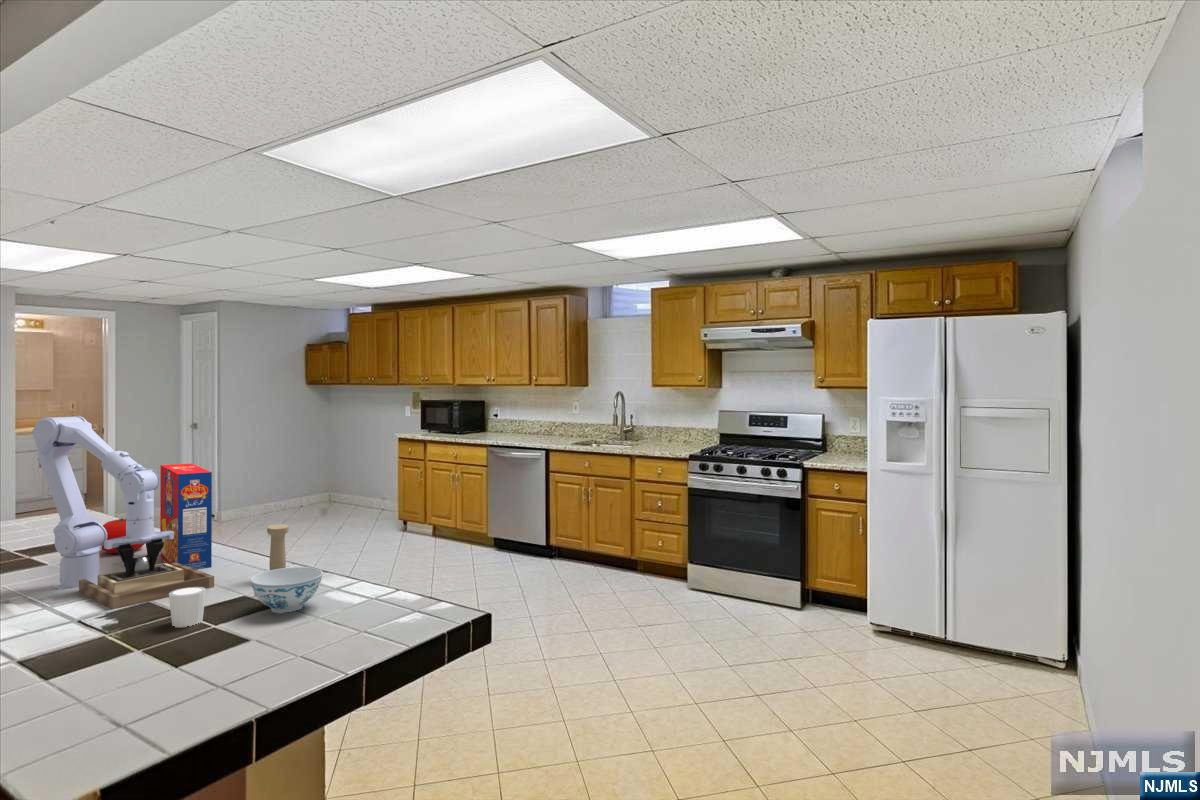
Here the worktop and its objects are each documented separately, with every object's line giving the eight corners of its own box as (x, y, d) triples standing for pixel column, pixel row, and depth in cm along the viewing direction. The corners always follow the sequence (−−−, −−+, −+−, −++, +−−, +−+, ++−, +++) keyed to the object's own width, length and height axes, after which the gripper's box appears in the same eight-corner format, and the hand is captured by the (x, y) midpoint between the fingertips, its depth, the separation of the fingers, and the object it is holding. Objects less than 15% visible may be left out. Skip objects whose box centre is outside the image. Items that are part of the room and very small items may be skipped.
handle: (269, 588, 169) (269, 529, 168) (265, 582, 174) (265, 525, 174) (289, 585, 171) (290, 527, 171) (285, 579, 177) (285, 523, 176)
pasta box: (160, 557, 199) (160, 465, 198) (191, 553, 204) (191, 463, 204) (177, 577, 178) (178, 474, 178) (211, 572, 183) (211, 472, 183)
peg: (127, 581, 165) (127, 557, 165) (145, 577, 168) (145, 554, 168) (135, 583, 162) (134, 559, 162) (152, 579, 166) (152, 556, 166)
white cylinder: (213, 619, 145) (213, 588, 145) (184, 630, 139) (184, 597, 139) (190, 616, 147) (190, 584, 147) (160, 626, 141) (160, 593, 141)
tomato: (115, 546, 211) (115, 514, 211) (157, 546, 213) (157, 514, 213) (85, 558, 197) (85, 523, 197) (131, 557, 199) (131, 522, 198)
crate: (97, 589, 162) (97, 575, 162) (165, 576, 174) (165, 562, 174) (114, 598, 155) (114, 583, 155) (184, 583, 168) (184, 569, 168)
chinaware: (336, 603, 157) (336, 571, 157) (282, 623, 143) (282, 588, 143) (291, 595, 163) (291, 564, 163) (235, 613, 149) (235, 579, 149)
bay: (78, 596, 160) (78, 580, 160) (175, 577, 178) (175, 562, 178) (113, 614, 148) (113, 597, 148) (214, 592, 165) (214, 576, 165)
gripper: (112, 524, 157) (111, 581, 157) (179, 515, 169) (178, 568, 169) (101, 521, 161) (100, 576, 161) (167, 512, 173) (167, 564, 173)
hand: (140, 572), depth 165 cm, fingers closed on peg, 4 cm apart
